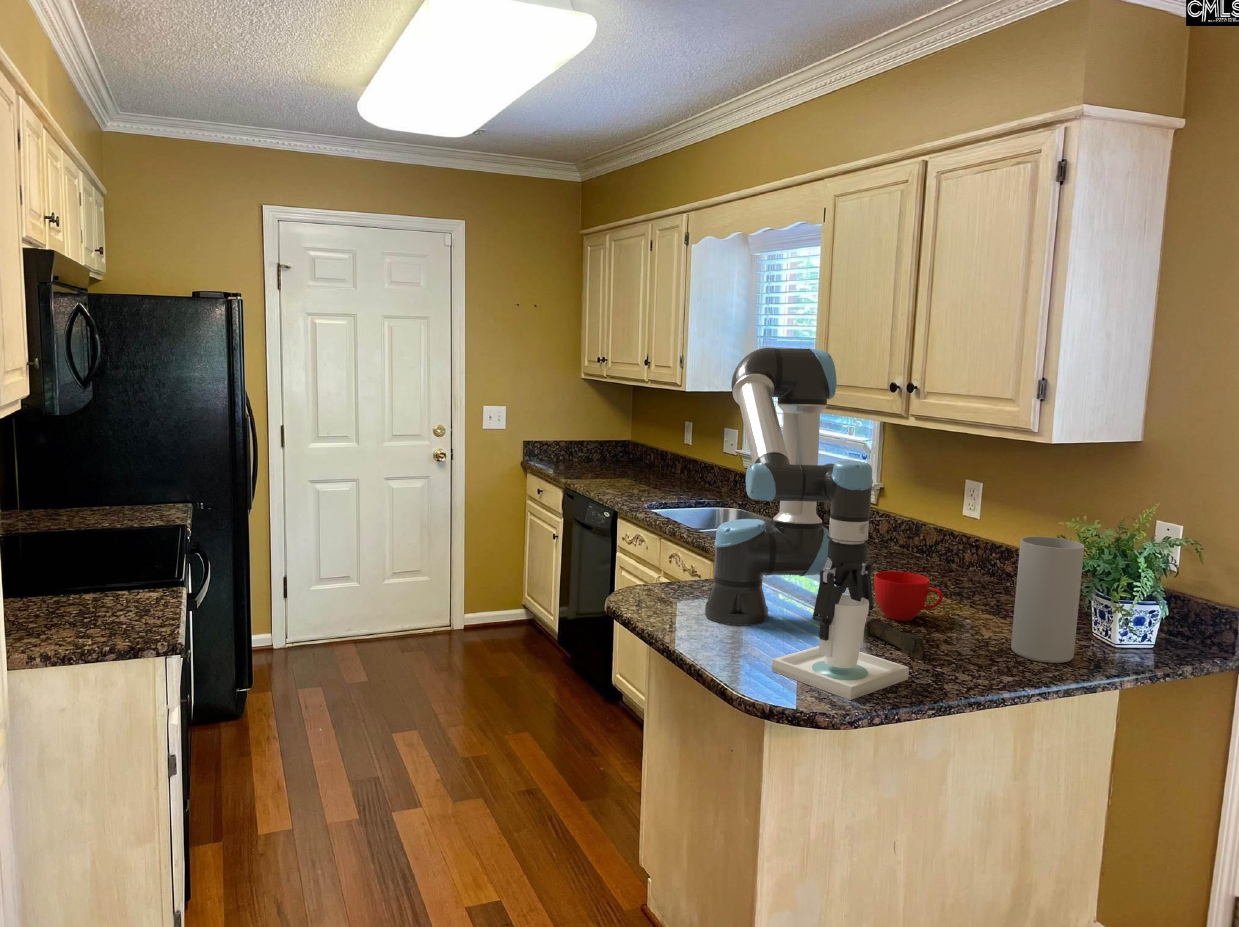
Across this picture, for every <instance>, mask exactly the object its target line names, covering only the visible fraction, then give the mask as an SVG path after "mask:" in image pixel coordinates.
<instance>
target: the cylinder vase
mask: <svg viewBox="0 0 1239 927" xmlns="http://www.w3.org/2000/svg"><path fill="white" fill-rule="evenodd" d="M1019 541H1020V542H1019V543H1020V544H1019V553H1018V565H1017V573H1016V574H1017V577H1016V587H1015V588H1016V589H1015V596H1014V609H1013V621H1012V622H1013V623H1012V631H1011V632H1012V633H1011V643H1010V648H1011V650H1012V652H1014V654H1016V655H1018V656H1019V657H1021V658H1025V659H1027V660H1030V661H1036V662H1041V663H1048V664H1050V663H1051V664H1064V663H1067V662H1070V661H1072V660H1073V659H1074V657H1075V647H1076V646H1075V645H1076V635H1077V625H1078V618H1079V617H1078V616H1079V615H1078V614H1079V605H1080V596H1081V587H1082V586H1081V585H1082V576H1083V575H1082V574H1083V566H1084V565H1083V564H1084V554H1085V544H1083V543H1081V542H1078V541H1075V540H1071V539H1065V538H1058V537H1053V536H1052V537H1051V536H1024V537H1021V538H1020V540H1019Z"/></svg>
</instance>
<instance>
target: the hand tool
mask: <svg viewBox="0 0 1239 927" xmlns="http://www.w3.org/2000/svg"><path fill="white" fill-rule="evenodd" d="M866 632H867V634H868V635H870V636H872V637H875V636H876V637H877V638H879V639H881V640H883V641H885V642H887V643H888V644H891V645H893V646H894V647H896V648H899V649H900V650H901V653H902V654H904V655H906V656H909V657H912V658H914V659H918V660H923V659H924V653H925V645H924V644H925V643H924V640H923V638H922V637H919V636H918V635H916V634H915V633H914V634H913V633H910V632H908V633H904V632H902V631H900V630H898V629H896V628H893V627H892V626H890V625H888V624H886V623H884V622H882V620H881V619H877V618H872V619H870V620H869V621H867V622H866Z"/></svg>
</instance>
